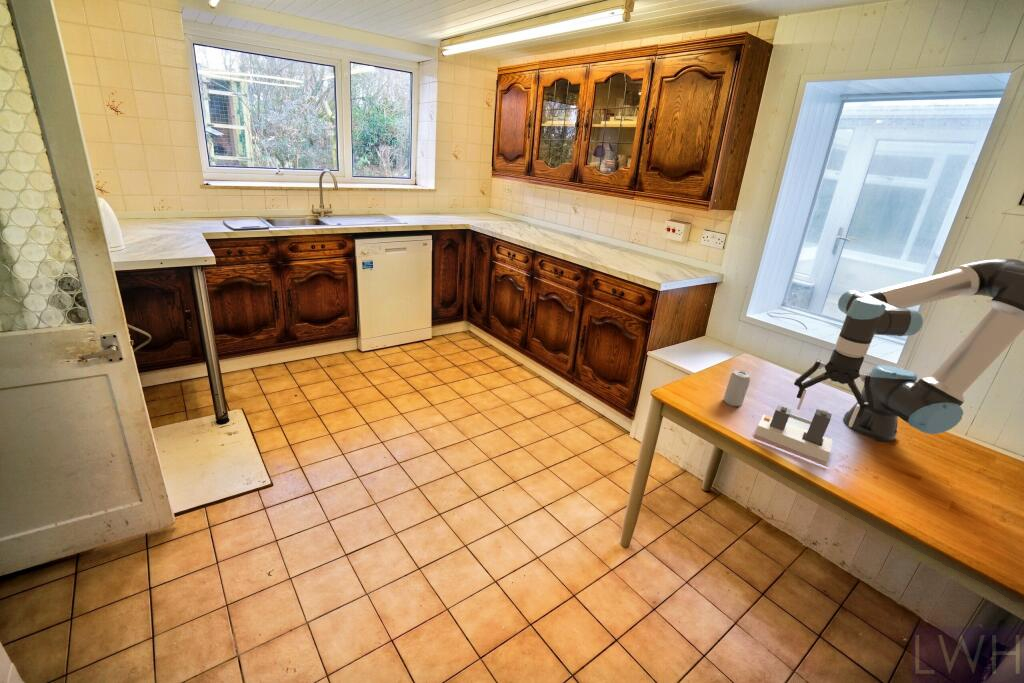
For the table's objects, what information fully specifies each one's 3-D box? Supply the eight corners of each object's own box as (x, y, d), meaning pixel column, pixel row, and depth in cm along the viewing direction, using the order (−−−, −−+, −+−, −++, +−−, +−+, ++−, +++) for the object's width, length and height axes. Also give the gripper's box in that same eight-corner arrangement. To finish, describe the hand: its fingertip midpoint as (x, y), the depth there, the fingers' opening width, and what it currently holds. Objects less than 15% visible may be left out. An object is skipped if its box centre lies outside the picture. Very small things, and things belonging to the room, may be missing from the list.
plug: (817, 446, 148) (833, 411, 143) (816, 452, 145) (831, 416, 140) (803, 441, 150) (817, 406, 145) (801, 447, 147) (816, 411, 142)
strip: (828, 450, 149) (841, 420, 144) (825, 463, 142) (838, 432, 138) (759, 424, 159) (770, 396, 155) (754, 435, 152) (764, 406, 148)
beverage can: (743, 402, 173) (752, 373, 168) (740, 409, 167) (750, 379, 163) (724, 396, 175) (733, 367, 171) (721, 403, 170) (730, 373, 166)
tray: (823, 429, 160) (825, 425, 160) (820, 441, 153) (822, 438, 152) (784, 415, 167) (786, 411, 166) (780, 426, 159) (781, 423, 159)
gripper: (903, 362, 131) (873, 427, 139) (801, 336, 144) (780, 396, 152) (903, 371, 125) (873, 438, 134) (798, 342, 138) (776, 405, 147)
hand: (823, 416), depth 143 cm, fingers open, 13 cm apart
